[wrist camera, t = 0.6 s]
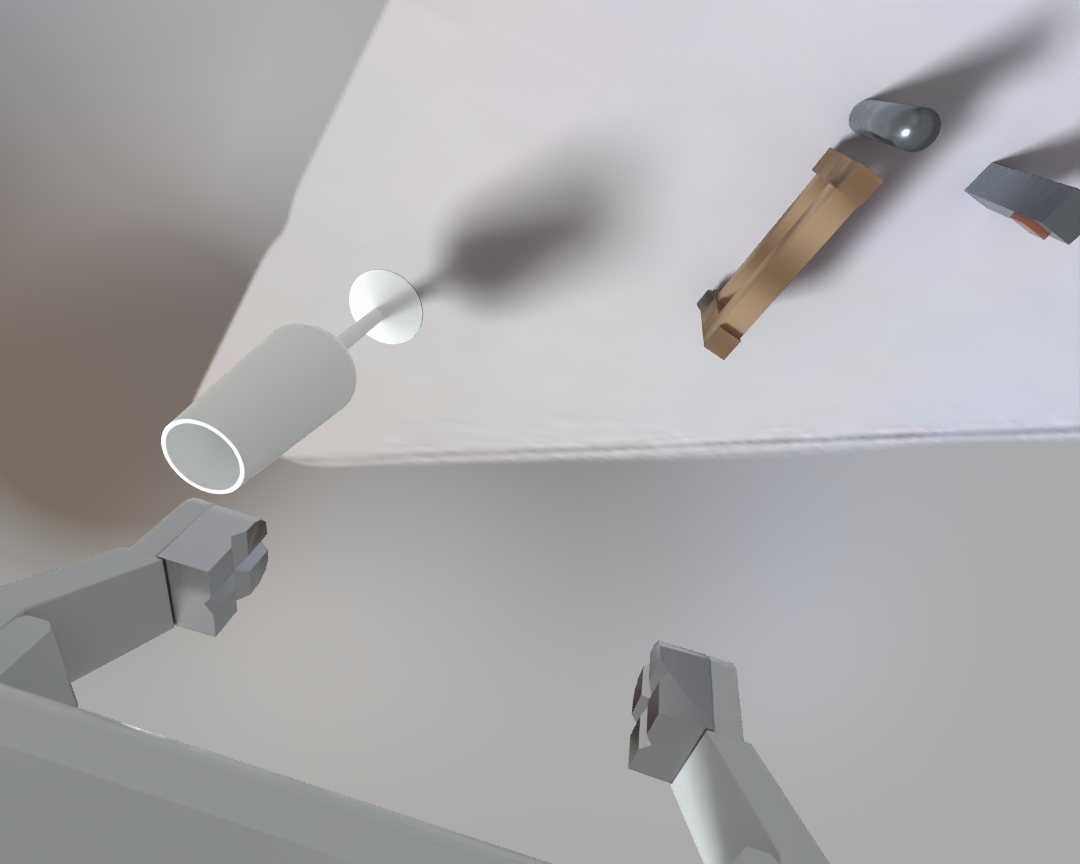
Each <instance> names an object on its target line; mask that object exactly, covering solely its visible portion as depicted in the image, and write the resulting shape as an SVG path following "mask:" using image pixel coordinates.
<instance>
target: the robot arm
mask: <svg viewBox="0 0 1080 864" xmlns="http://www.w3.org/2000/svg"><path fill="white" fill-rule="evenodd" d="M266 535H267V526H266V522H265V521H263V520H261V519H258V518H255V517H253V516H250V515H247V514H244V513H241V512H238V511H235V510H232V509H229V508H226V507H223V506H220V505H216V504H213V503H210V502H207V501H204V500H201V499H198V498H194V497H193V498H191V499H188V500H186V501H184V502H183V503H182V504H181V505H179V506H178V507H177V508H176V509H175V510H174V511H172V512H171V513H170V514H169V515H168V516H167V517H165V518H164V519H163V520H162V521H161V522H160V523H159V524H157V525H156V526H155V527H154V528H153V529H152V530H151V531H149V532H148V533H147V534H146V535H145V536H144V537H142V538H141V539H140V540H139V541H138V542H137V543H136V544H135V545H133V546H132V547H131V548H130V549H128V548H125V547H120V548H118V549H114V550H111V551H108V552H105V553H102V554H99V555H96V556H93V557H90V558H87V559H84V560H81V561H78V562H75V563H71V564H68V565H65V566H62V567H59V568H56V569H53V570H50V571H47V572H44V573H41V574H38V575H35V576H32V577H29V578H26V579H23V580H20V581H16V582H13V583H11V584H7V585H4V586H1V587H0V864H552V863H549V862H545V861H542V860H539V859H536V858H533V857H530V856H527V855H524V854H521V853H518V852H515V851H512V850H509V849H506V848H503V847H500V846H497V845H494V844H491V843H488V842H485V841H481V840H478V839H476V838H473V837H469V836H466V835H464V834H461V833H457V832H454V831H451V830H448V829H445V828H442V827H439V826H436V825H433V824H430V823H427V822H424V821H421V820H418V819H415V818H411V817H409V816H406V815H403V814H400V813H397V812H394V811H391V810H387V809H384V808H382V807H379V806H375V805H372V804H369V803H366V802H363V801H360V800H357V799H354V798H351V797H348V796H345V795H342V794H339V793H336V792H333V791H330V790H327V789H324V788H320V787H317V786H314V785H311V784H308V783H305V782H302V781H299V780H296V779H293V778H290V777H287V776H284V775H281V774H278V773H275V772H272V771H269V770H265V769H262V768H260V767H257V766H254V765H250V764H247V763H244V762H241V761H238V760H235V759H232V758H229V757H226V756H223V755H220V754H217V753H214V752H211V751H208V750H205V749H201V748H199V747H196V746H192V745H190V744H186V743H184V742H180V741H177V740H174V739H171V738H168V737H165V736H162V735H159V734H156V733H153V732H150V731H147V730H144V729H141V728H138V727H135V726H132V725H129V724H126V723H122V722H120V721H117V720H114V719H110V718H107V717H104V716H101V715H98V714H95V713H92V712H89V711H86V710H83V709H80V708H78V702H77V699H76V696H75V694H74V691H73V688H72V685H71V682H73V681H75V680H77V679H79V678H80V677H82V676H84V675H86V674H88V673H89V672H92V671H93V670H95V669H97V668H99V667H101V666H103V665H105V664H107V663H108V662H110V661H112V660H114V659H116V658H118V657H120V656H122V655H124V654H125V653H127V652H129V651H131V650H133V649H135V648H136V647H138V646H140V645H142V644H144V643H146V642H148V641H150V640H152V639H153V638H155V637H157V636H159V635H161V634H163V633H165V632H166V631H168V630H170V629H172V628H174V625H176V626H179V627H183V628H186V629H190V630H194V631H197V632H201V633H204V634H207V635H211V636H214V637H216V636H217V635H218V633H219V632H220V631H221V630H222V629H223V627H224V626H225V625H226V624H227V622H228V621H229V620H230V619H231V618H232V616H233V615H234V614H235V613H236V611H237V603H236V600H238V599H240V598H243V597H245V596H248V595H250V594H251V593H252V592H253V590H254V589H255V588H256V587H257V585H258V584H259V583H260V581H261V578H262V576H263V574H264V572H265V570H266V566H267V562H268V550H267V548H266V547H265V546H264V544H263V543H262V539H263V538H264V537H265V536H266ZM632 715H633V717H634V719H635V721H636V726H635V727H634V729H633V731H632V733H631V735H630V749H629V764H628V768H629V769H631V770H634V771H637V772H640V773H643V774H645V775H649V776H651V777H654V778H657V779H660V780H663V781H666V782H668V783H671V784H672V785H671V787H672V790H673V792H674V794H675V797H676V799H677V802H678V804H679V806H680V809H681V811H682V813H683V816H684V818H685V820H686V823H687V825H688V827H689V829H690V832H691V834H692V837H693V839H694V841H695V844H696V846H697V848H698V851H699V853H700V855H701V858H702V860H703V862H704V864H830V863H829V862H828V860H827V859H826V857H825V856H824V854H823V853H822V851H821V849H820V848H819V847H818V845H817V843H816V842H815V840H814V839H813V837H812V836H811V834H810V833H809V831H808V830H807V828H806V827H805V825H804V824H803V822H802V820H801V819H800V818H799V816H798V814H797V813H796V811H795V810H794V809H793V807H792V805H791V804H790V802H789V801H788V799H787V798H786V796H785V795H784V793H783V792H782V790H781V788H780V787H779V785H778V784H777V783H776V781H775V779H774V778H773V776H772V775H771V773H770V772H769V770H768V769H767V767H766V766H765V764H764V763H763V761H762V760H761V758H760V757H759V755H758V754H757V752H756V750H755V749H754V747H753V746H752V744H750V743H747V742H744V739H743V729H742V720H741V710H740V701H739V691H738V681H737V673H736V667H735V665H734V664H733V663H731V662H727V661H724V660H721V659H718V658H714V657H711V656H706V655H705V654H701V653H698V652H695V651H692V650H688V649H685V648H681V647H678V646H675V645H671V644H667V643H664V642H661V641H657V642H656V643H655V644H654V646H653V648H652V650H651V652H650V664H648V665H646V666H643V668H642V671H641V673H640V675H639V677H638V681H637V685H636V688H635V691H634V698H633V706H632Z"/></svg>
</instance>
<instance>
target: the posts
mask: <svg viewBox="0 0 1080 864" xmlns="http://www.w3.org/2000/svg"><path fill="white" fill-rule="evenodd" d="M849 125H850V128H851V129H852V130H853V131H854V132H855V133H857V134H860V135H863V136H866V137H869V138H871V139H874V140H877V141H880V142H883V143H885V144H888V145H891V146H894V147H897V148H899V149H902V150H905V151H908V152H916V151H920V150H923V149H925V148H926V147H928V146H929V145H930V144H931V143H932V142H933V141H934V140H935V139H936V137H937V135H938V133H939V131H940V126H941V122H940V118H939V115H938V114H937V113H936V112H935V111H934V110H932V109H930V108H924V107H918V106H912V105H905V104H899V103H892V102H886V101H879V100H873V99H868V100H864V101H862V102H860V103H858V104H857V105H856V106H855V107H854V108H853V110H852V111H851V114H850V117H849ZM964 191H966V192H967V193H968V194H970V195H971V196H972V197H973V198H975V199H976V200H977V201H979V202H980V203H981V204H983V205H984V206H985V207H986V208H988V209H990V210H993V211H995V212H997V213H999V214H1002V215H1004V216H1006V217H1008V218H1011V219H1012V220H1014V221H1015V222H1016V223H1018V224H1019V225H1020V226H1022V227H1023V228H1024V229H1025V230H1027V231H1028V232H1029V233H1031V234H1033V235H1035V236H1037V237H1040V238H1042V239H1046V238H1047V237H1048V236H1051V237H1053V238H1055V239H1057V240H1060V241H1062V242H1064V243H1066V244H1070V243H1071V242H1073V241H1074V240H1075V239H1076V238H1077V237H1078V236H1079V235H1080V189H1078V188H1075V187H1072V186H1068V185H1065V184H1061V183H1058V182H1055V181H1051V180H1048V179H1045V178H1041V177H1038V176H1035V175H1031V174H1028V173H1025V172H1021V171H1018V170H1014V169H1011V168H1008V167H1004V166H1001V165H998V164H994V163H991V164H990V165H989V166H988V167H987V168H986V169H985V170H984V171H983V172H982V173H981V174H980V175H979V176H978V177H977V178H976V179H975V180H974V181H973V182H972V183H971V184H970V185H969V186H968V187H967V188H966V189H965V190H964Z"/></svg>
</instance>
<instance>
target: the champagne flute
mask: <svg viewBox="0 0 1080 864" xmlns="http://www.w3.org/2000/svg"><path fill="white" fill-rule="evenodd" d="M349 303H350V308H351V312H352V315H353V317H354V319H355V321H356V323H355V324H353V325H352V326H351V327H350V328H348V329H347V330H346V331H344V332H343V333H342V334H341V335H339V336H338V337H335V336H334V335H332V334H331V333H329V332H327V331H326V330H324V329H321V328H319V327H316V326H311V325H306V324H291V325H287V326H283V327H281V328H279V329H276V330H275V331H274V332H273V333H271V334H270V335H269V336H268V337H267V338H266V339H265V340H263V341H262V342H261V343H260V344H259V345H258V346H257V347H256V348H254V349H253V350H252V351H251V352H250V353H249V354H248V355H247V356H245V357H244V358H243V359H242V360H241V361H240V362H239V363H237V364H236V365H235V366H234V367H233V368H232V369H231V370H230V371H228V372H227V373H226V374H225V375H224V376H223V377H222V378H221V379H219V380H218V381H217V382H216V383H215V384H214V385H213V386H211V387H210V388H209V389H208V390H207V391H206V392H205V393H204V394H202V395H201V396H200V397H199V398H198V399H197V400H196V401H195V402H193V403H192V404H191V405H190V406H189V407H188V408H187V409H185V410H184V411H183V412H182V413H181V414H180V415H179V416H178V417H176V418H175V419H174V420H173V421H172V422H171V423H170V424H169V425H167V426H166V427H165V429H164V431H163V434H162V438H161V443H162V444H161V445H162V449H163V453H164V455H165V457H166V459H167V461H168V462H169V464H170V466H171V467H172V468H173V469H174V471H175V472H176V473H177V474H178V475H179V476H180V477H182V478H183V479H184V480H185V481H187V482H188V483H189V484H191V485H192V486H194V487H196V488H198V489H200V490H203V491H206V492H210V493H214V494H226V493H230V492H233V491H234V490H236V489H237V488H238V487H240V486H241V485H243V484H244V483H245V482H247V481H248V480H249V479H250V478H252V477H253V476H254V475H256V474H257V473H258V472H260V471H261V470H262V469H263V468H265V467H266V466H268V465H269V464H270V463H272V462H273V461H274V460H275V459H277V458H278V457H279V456H281V455H282V454H283V453H285V452H286V451H287V450H289V449H290V448H291V447H293V446H294V445H295V444H296V443H298V442H299V441H300V440H302V439H303V438H304V437H306V436H307V435H308V434H310V433H311V432H312V431H314V430H315V429H316V428H318V427H319V426H320V425H321V424H323V423H324V422H325V421H327V420H328V419H329V418H331V417H332V416H333V415H335V414H336V413H337V412H339V411H340V410H341V409H342V408H344V407H345V406H346V405H347V404H348V402H349V401H350V400H351V397H352V395H353V393H354V391H355V386H356V370H355V365H354V362H353V359H352V357H351V355H350V353H349V351H348V349H349V348H350V347H351V346H353V345H354V344H355V343H356V342H357V341H358V340H360V339H361V338H362V337H363V336H364V335H365V334H367V335H369V336H370V337H372V338H373V339H375V340H377V341H380V342H382V343H387V344H399V343H403V342H406V341H408V340H410V339H411V338H412V337H414V335H415V334H416V333H417V332H418V330H419V328H420V326H421V322H422V306H421V302H420V299H419V297H418V295H417V293H416V292H415V290H414V289H413V287H412V286H411V285H410V284H409V283H408V282H407V281H406V280H405V279H404V278H402V277H401V276H399V275H397V274H395V273H393V272H390V271H386V270H371V271H367V272H365V273H363V274H362V275H360V276H359V277H358V278H357V279H356V280H355V282H354V283H353V285H352V288H351V290H350V296H349Z"/></svg>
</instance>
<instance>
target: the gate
mask: <svg viewBox="0 0 1080 864" xmlns="http://www.w3.org/2000/svg"><path fill="white" fill-rule="evenodd" d="M812 170H813V171H814V172H815V173H817V174H816V176H815V177H814V178H813V179H812V181H811V182H810V183H809V184H808V185H807V187H806V188H805V189H804V190H803V191H802V193H801V194H800V195H799V196H798V197H797V199H796V200H795V201H794V202H793V204H792V205H791V206H790V207H789V208H788V210H787V211H786V212H785V213H784V214H783V216H782V217H781V218H780V219H779V220H778V222H777V223H776V224H775V225H774V227H773V228H772V229H771V230H770V231H769V233H768V234H767V235H766V236H765V237H764V239H763V240H762V241H761V242H760V243H759V245H758V246H757V247H756V248H755V250H754V251H753V252H752V253H751V254H750V256H749V257H748V258H747V259H746V260H745V262H744V263H743V264H742V265H741V266H740V268H739V269H738V270H737V271H736V273H735V274H734V275H733V276H732V277H731V279H730V280H729V281H728V282H727V283H726V285H725V286H724V287H723V288H722V289H721V291H720V292H717V291H716V290H715V289H714V290H713V291H711V290H708V291H707V292H706V293H705V294H704V296H703V297H702V298H701V299H700V300H699V302H698V303H697V306H698V308H699V309H700V310H701V319H702V329H703V340H704V347H705V348H707V349H708V350H710V351H711V352H713V353H714V354H716V355H717V356H719V357H720V358H722V359H723V360H724V359H725V358H726V357H727V356H728V355H729V354H730V353H731V352H732V350H733V349H734V348H735V347H736V346H737V345H738V344H739V343H740V342H741V341H740V338H741V337H742V336H743V335H744V333H745V332H746V331H747V330H748V329H749V328H750V327H751V326H752V324H753V323H754V322H755V321H756V320H757V319H758V318H759V317H760V315H761V314H762V313H763V312H764V311H765V310H766V309H767V308H768V307H769V305H770V304H771V303H772V302H773V301H774V300H775V299H776V298H777V296H778V295H779V294H780V293H781V292H782V291H783V290H784V289H785V287H786V286H787V285H788V284H789V283H790V282H791V281H792V280H793V278H794V277H795V276H796V275H797V274H798V273H799V272H800V271H801V270H802V268H803V267H804V266H805V265H806V264H807V263H808V262H809V261H810V259H811V258H812V257H813V256H814V255H815V254H816V253H817V252H818V250H819V249H820V248H821V247H822V246H823V245H824V244H825V243H826V242H827V240H828V239H829V238H830V237H831V236H832V235H833V234H834V233H835V231H836V230H837V229H838V228H839V227H840V226H841V225H842V224H843V222H844V221H845V220H846V219H847V218H848V217H849V216H850V215H851V214H852V212H853V211H854V210H855V209H856V208H857V207H858V206H861V207H862V205H863V204H864V203H865V202H866V201H867V200H868V199H869V198H870V197H871V195H872V194H873V193H874V192H875V191H876V190H877V189H878V188H879V186H880V185H881V184H882V183H883V182H884V180H883V179H881V178H880V177H879V176H877V175H876V174H875V173H873V172H872V171H871V170H869V169H868V168H867V167H865V166H864V165H863V164H861V163H859V162H857V161H856V160H854V159H852V158H850V157H848V156H846V155H844V154H842V153H840V152H838V151H836V150H834V149H832V148H829V149H828V151H827V152H826V153H825V154H824V156H823V157H822V158H821V159H820V160H819V162H818V163H817V164H816V165H815V167H814V168H813V169H812Z"/></svg>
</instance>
